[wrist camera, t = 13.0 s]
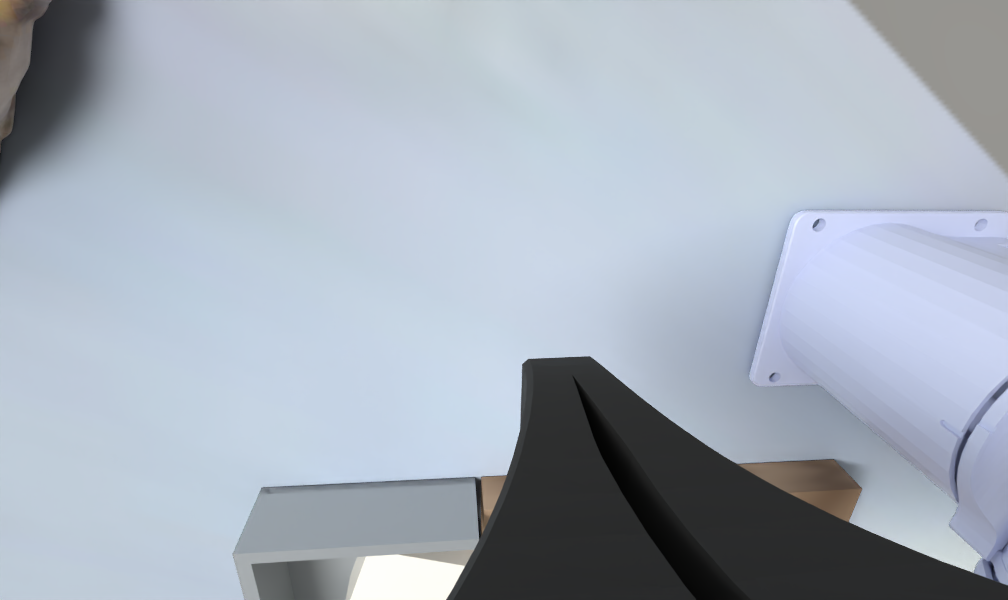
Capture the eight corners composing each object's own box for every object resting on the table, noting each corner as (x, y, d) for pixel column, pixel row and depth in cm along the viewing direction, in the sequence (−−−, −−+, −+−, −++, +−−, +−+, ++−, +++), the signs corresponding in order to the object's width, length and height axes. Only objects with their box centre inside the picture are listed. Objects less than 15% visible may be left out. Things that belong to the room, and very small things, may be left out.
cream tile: (477, 523, 25) (480, 568, 23) (445, 591, 27) (445, 639, 25) (375, 503, 24) (368, 549, 22) (350, 576, 26) (340, 625, 23)
